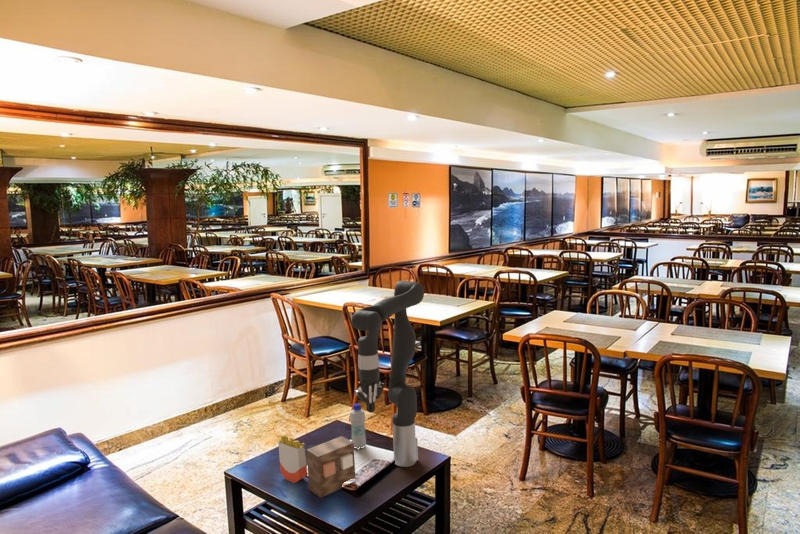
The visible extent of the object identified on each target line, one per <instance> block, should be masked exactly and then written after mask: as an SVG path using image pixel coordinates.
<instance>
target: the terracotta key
mask: <svg viewBox="0 0 800 534" xmlns="http://www.w3.org/2000/svg"><path fill="white" fill-rule="evenodd" d="M335 473H336V471H335V462H334V461H332V460H331V461H329V462H326V463H324V464H322V476H324V477H325V478H326V477H328V476H331V475H333V474H335Z"/></svg>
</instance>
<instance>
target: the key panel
mask: <svg viewBox="0 0 800 534" xmlns="http://www.w3.org/2000/svg"><path fill="white" fill-rule="evenodd" d="M348 453H350V454H352V455H353V466H351V467H349V468H347V469H344V470H343V469H341V468H340V457H341V456H343V455H345V454H348ZM331 460H332V461H334V462H335V471H336V473H335V474H333V475H331V476H328V477H326V478H325V477H324V476H322V464H324V463H326V462H329V461H331ZM355 461H356V459H355V449H354V443H353V442H352V440H349V439H348V438H346V437H344V436H342V435H340V436H339V437H335V438H333V439H331V440H328V441H326V442H322V443H321V444H318V445H315V446H312V447H309V448H307V449H306V463H307V477H308V490H309V491H310V492H312V493H313V494H315V496H318V497H319V498H320V499H321V498H323V497H325V496H328V495H330V494H332V493H334V492H336V491H338V490H340V489H342V488H341V487H342V484H343V483H344V482H346V481H348V480H350V479H353V478H355V479H356V465H355V464H356V463H355Z"/></svg>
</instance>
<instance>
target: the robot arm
mask: <svg viewBox="0 0 800 534" xmlns="http://www.w3.org/2000/svg"><path fill="white" fill-rule="evenodd" d="M424 297H425V288H424V286H423V284H422V283H420V282H416V281H410V280H398V281H397V282H396V285H395V287H394V292H393V296H389V297H385V298H383V299H381V300H379V301H377V302H376V303H374V304H373V305H370V306H369V305H368V306H366V307H363V308H360V309H358V310H356V311H355V312H354V313H353V314H352V317H351V325H352V327H354V329H356V330H357V331H367V335H365V336H360V337H359V338H358V341H357V351H358V355H357V356H358V358H357V367H358V368H357V369H358V379H359V384H358V388H357V389H355V390H354V391H353V393H354V395H355V396H357V398H358V399H359V400H360V401H361V402H364V404H366V407H365V408H366V411H367V412H368V413H374V412H375V409H376V401H377V400H379V399H380V397H381V394H382V392H383V391H384V389H385V386H386V384H385V383H384V382H382V381H381V380H380V377H381V376H380V357H379V350H378V349H379V348H378V345H379V343H378V340H379V335H380V331H381V327H382V323H383V322H384V321H386V320H388V319H389V318H390V317H392V316H394V322H393V323H394V324H393V326H394V328H393V339H392V356H391V357H392V358H391V370H390V378H389V382H388V388H387V389H388V390H387V397H388V400H389V401H390V403H392V404H394V405H395V406H397V412H396V413H393V415H392V419H391V420H392V439H393V440H392V441H393V461H394V460H395V463H394V465H396V466H398V467H401V468H402V467H403V468H404V467H405V468H408V467H412V466H414V465H415V464H416V463H417V461H419V449H418V448H419V447H418V446H419V443H418V441H419V440H418V437H416V416H417V412H418V411H417V410H418V409H417V407H418V403H417V402H418V398H417V397H418V395H417V391H416V389H415V388H414V386H413V387H412V386H411V385H408V384H407V383H406V382H407V380H406V378H407V377H406V376H407V370H408V368H409V365H410V364H411V361H412V359H413V358H414V356H415V352H416V341H417V338H416V337H417V336H416V332H415V330H414V327H413V326H412V324H411V322H410V319H409V317H408V313H407V309H408V308H410V307H414V306H416V305H419V304H421V302H422V301H423V299H424Z"/></svg>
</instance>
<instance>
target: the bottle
mask: <svg viewBox="0 0 800 534" xmlns="http://www.w3.org/2000/svg"><path fill="white" fill-rule="evenodd" d="M352 408H353V409H352V410H351V411H350V416H349V420H350V421H349V422H350V427H351V428H350V429H351V441H352V442H353V443H354V447H357V448H359V447H360V448H361V447H363V446H365V445H367V439H366V438H367V437H366V427H365V425H366V424H365V423H366V414H365V410H364V409H362V406H361V404H360V403H354V404H353V407H352ZM365 447H366V446H365ZM357 448H356V449H357Z"/></svg>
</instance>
